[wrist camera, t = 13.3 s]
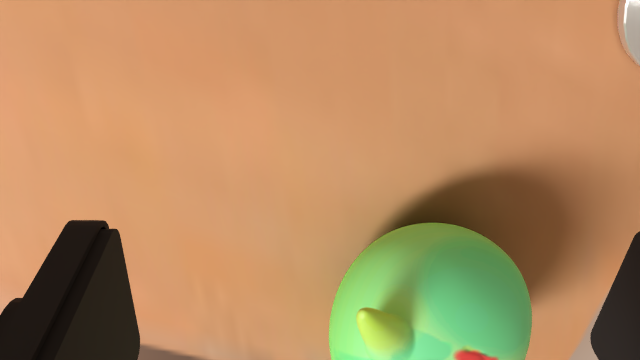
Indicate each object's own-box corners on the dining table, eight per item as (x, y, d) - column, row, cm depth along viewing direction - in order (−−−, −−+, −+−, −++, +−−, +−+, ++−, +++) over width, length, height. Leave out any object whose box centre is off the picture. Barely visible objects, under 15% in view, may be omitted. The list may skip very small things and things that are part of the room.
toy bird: (454, 342, 55) (506, 486, 43) (294, 328, 52) (301, 478, 40) (524, 201, 46) (616, 332, 34) (335, 174, 43) (359, 306, 31)
